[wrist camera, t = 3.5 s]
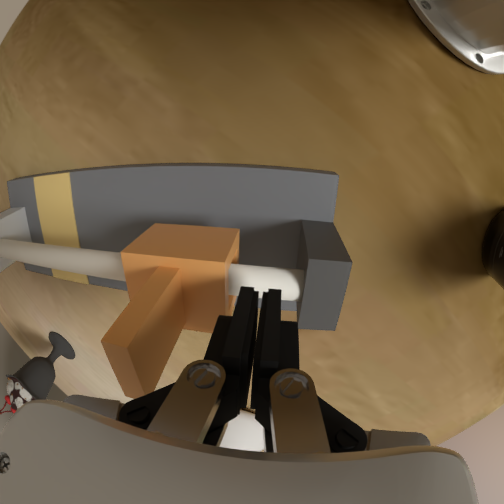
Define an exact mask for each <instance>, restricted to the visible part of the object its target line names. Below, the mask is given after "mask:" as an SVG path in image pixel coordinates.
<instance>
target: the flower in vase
mask: <svg viewBox="0 0 504 504" xmlns="http://www.w3.org/2000/svg"><path fill="white" fill-rule="evenodd" d="M219 447H224V448H231V449H239V450H248V451H258V452H260V451H261V450H263V449H264V440H263V426H262V425H261V424H260V423H259V422H258V421H257V420H256V419H255V414H253V413H250V412H247V411H243V410H240V415H237V417H236V418H234V419H232V420H230V421H229V422H228V427H227V429H226V432H225V434H224V436H223V439H222V441H221V444H220V446H219Z"/></svg>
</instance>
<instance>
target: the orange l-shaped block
mask: <svg viewBox="0 0 504 504" xmlns="http://www.w3.org/2000/svg"><path fill="white" fill-rule="evenodd" d="M239 233H240V229H237V228H223V227H209V226H194V225H178V224H161V223H155V224H154V225H152V226H151V227H150V228H149V229H147V230H146V231H145V232H144V233H142V234H141V235H140V236H139V237H138V238H136V239H135V240H134V241H133V242H132V243H130V244H129V245H128V246H127V247H126V248H125V249H123V250H122V251H121V252H120V253H121V259H122V264H123V269H124V275H125V279H126V284H127V289H128V293H129V298H130V303H129V304H128V305H127V307H126V308H125V309H124V310H123V312H122V313H121V314H120V316H119V317H118V318H117V320H116V321H115V322H114V324H113V325H112V326H111V328H110V329H109V330H108V332H107V333H106V334H105V336H104V337H103V338H102V340H101V343H102V345H103V348H104V350H105V353H106V355H107V357H108V360H109V362H110V364H111V367H112V369H113V371H114V373H115V375H116V377H117V380H118V382H119V384H120V386H121V388H122V390H123V392H124V394H125V396H127V397H130V398H134V399H136V398H139V397H141V396H144V395H146V394H149V393H151V392H154V390H155V388H156V385H157V383H158V381H159V379H160V376H161V374H162V372H163V370H164V368H165V365H166V363H167V361H168V359H169V357H170V355H171V352H172V350H173V348H174V346H175V344H176V342H177V340H178V337H179V335H180V333H181V331H182V329H187V330H193V331H200V332H207V333H213V330H214V327H215V324H216V321H217V318H218V316H219V315H225V316H231V315H232V311H233V308H234V304H235V301H236V297H237V296H234V295H229V288H228V270H229V268H230V265H231V264H239Z"/></svg>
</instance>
